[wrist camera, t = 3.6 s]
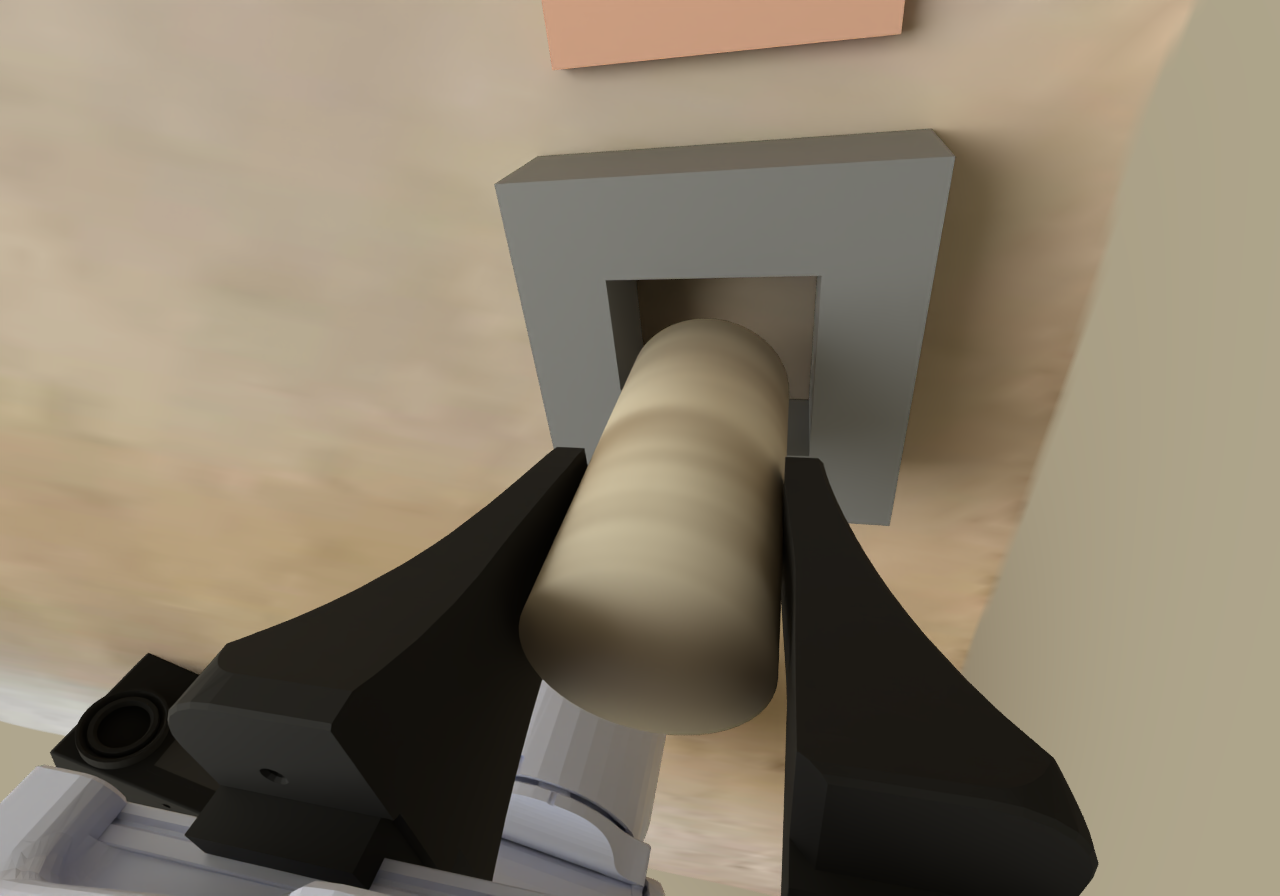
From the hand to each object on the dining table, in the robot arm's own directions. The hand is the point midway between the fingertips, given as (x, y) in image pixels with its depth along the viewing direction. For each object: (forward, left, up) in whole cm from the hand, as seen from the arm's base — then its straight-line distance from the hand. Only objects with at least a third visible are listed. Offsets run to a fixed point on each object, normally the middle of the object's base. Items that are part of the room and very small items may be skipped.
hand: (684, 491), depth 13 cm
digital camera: (-27, +35, -8) cm, 45 cm away
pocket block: (0, 0, -8) cm, 8 cm away
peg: (0, 0, -4) cm, 4 cm away
